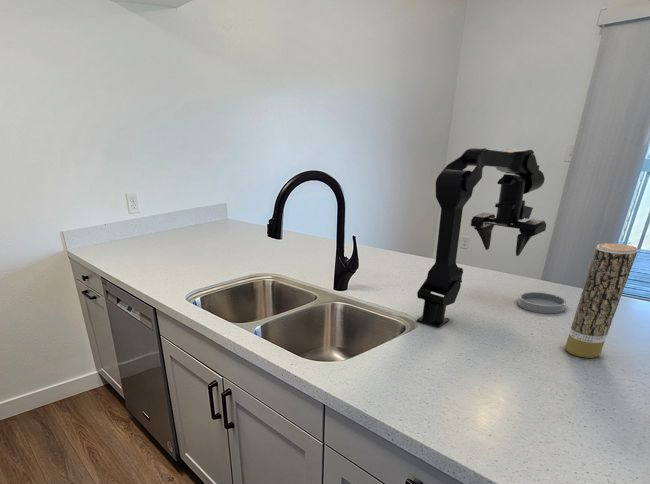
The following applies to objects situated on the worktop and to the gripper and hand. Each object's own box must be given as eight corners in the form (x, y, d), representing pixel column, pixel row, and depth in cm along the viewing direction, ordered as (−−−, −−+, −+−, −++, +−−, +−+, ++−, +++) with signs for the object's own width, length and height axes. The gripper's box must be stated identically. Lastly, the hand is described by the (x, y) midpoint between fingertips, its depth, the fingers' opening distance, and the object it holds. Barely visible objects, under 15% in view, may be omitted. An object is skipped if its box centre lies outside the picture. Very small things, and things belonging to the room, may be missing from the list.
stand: (557, 316, 120) (559, 309, 119) (511, 306, 128) (513, 299, 127) (569, 304, 127) (571, 297, 126) (525, 296, 135) (527, 289, 134)
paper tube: (605, 359, 99) (645, 251, 87) (571, 358, 100) (607, 251, 89) (590, 346, 105) (626, 243, 93) (559, 345, 106) (590, 243, 95)
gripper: (563, 194, 116) (551, 250, 124) (496, 189, 131) (488, 239, 138) (539, 204, 112) (528, 262, 120) (472, 197, 126) (466, 249, 134)
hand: (502, 252), depth 128 cm, fingers open, 9 cm apart
